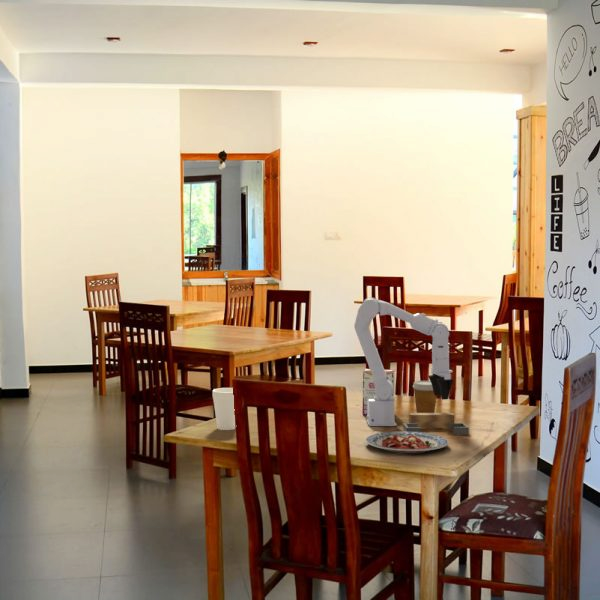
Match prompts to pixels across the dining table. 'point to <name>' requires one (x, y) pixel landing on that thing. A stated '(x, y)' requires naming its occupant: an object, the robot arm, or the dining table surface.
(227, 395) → the foam cup
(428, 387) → the disposable coffee cup
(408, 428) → the end cap
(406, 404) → the dining table surface
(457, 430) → the end cap
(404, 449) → the ceramic plate
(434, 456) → the dining table surface
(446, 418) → the slat
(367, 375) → the candy bar box
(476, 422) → the dining table surface
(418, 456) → the dining table surface
